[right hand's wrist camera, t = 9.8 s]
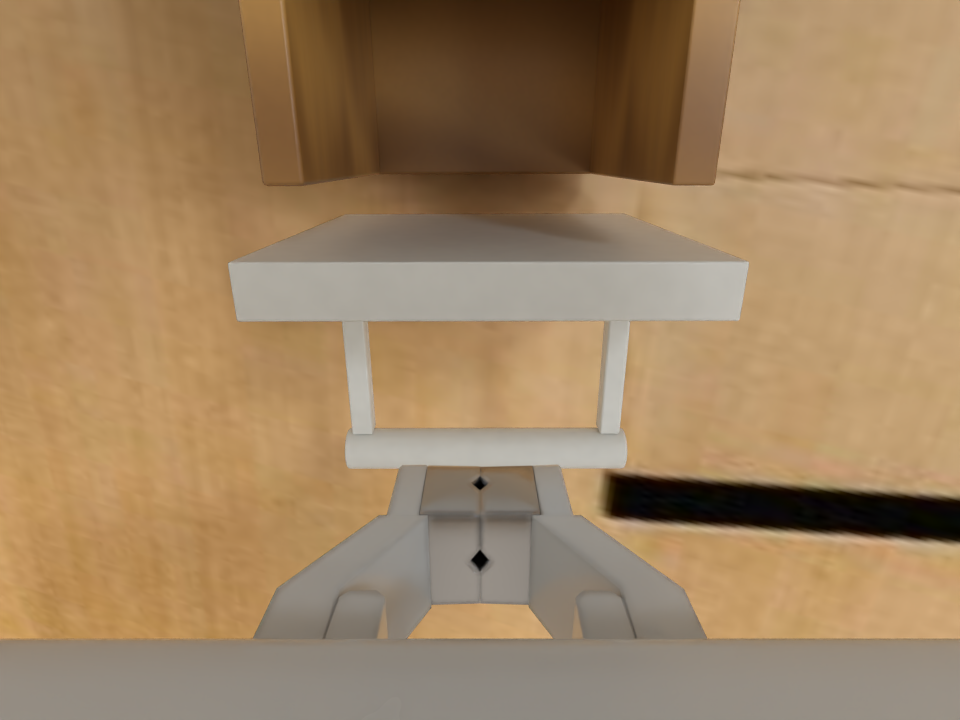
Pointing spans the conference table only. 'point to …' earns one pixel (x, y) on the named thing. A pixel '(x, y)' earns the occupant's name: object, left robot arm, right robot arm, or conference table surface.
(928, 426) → the conference table surface
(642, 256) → the drawer
